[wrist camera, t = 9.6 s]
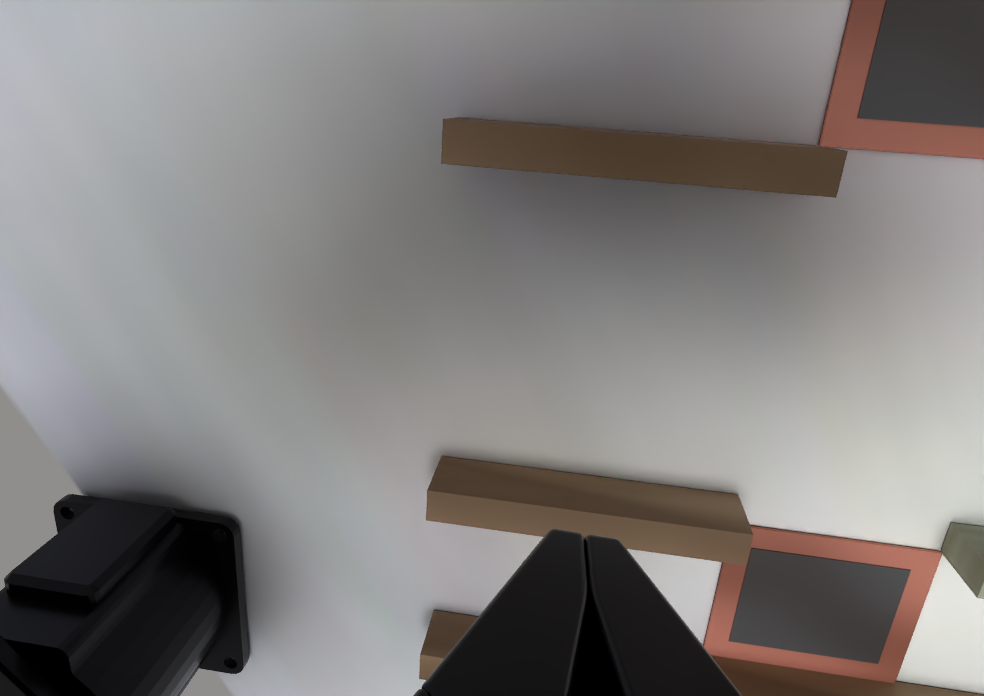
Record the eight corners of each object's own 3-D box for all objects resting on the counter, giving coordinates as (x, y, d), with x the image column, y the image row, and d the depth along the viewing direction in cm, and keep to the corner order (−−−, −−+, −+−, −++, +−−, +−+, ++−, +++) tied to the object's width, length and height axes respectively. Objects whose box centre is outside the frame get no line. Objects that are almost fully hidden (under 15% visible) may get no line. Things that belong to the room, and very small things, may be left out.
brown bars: (1258, 763, 21) (1362, 866, 18) (432, 633, 23) (411, 704, 21) (1825, -111, 13) (2172, -170, 10) (472, -159, 15) (447, -218, 13)
